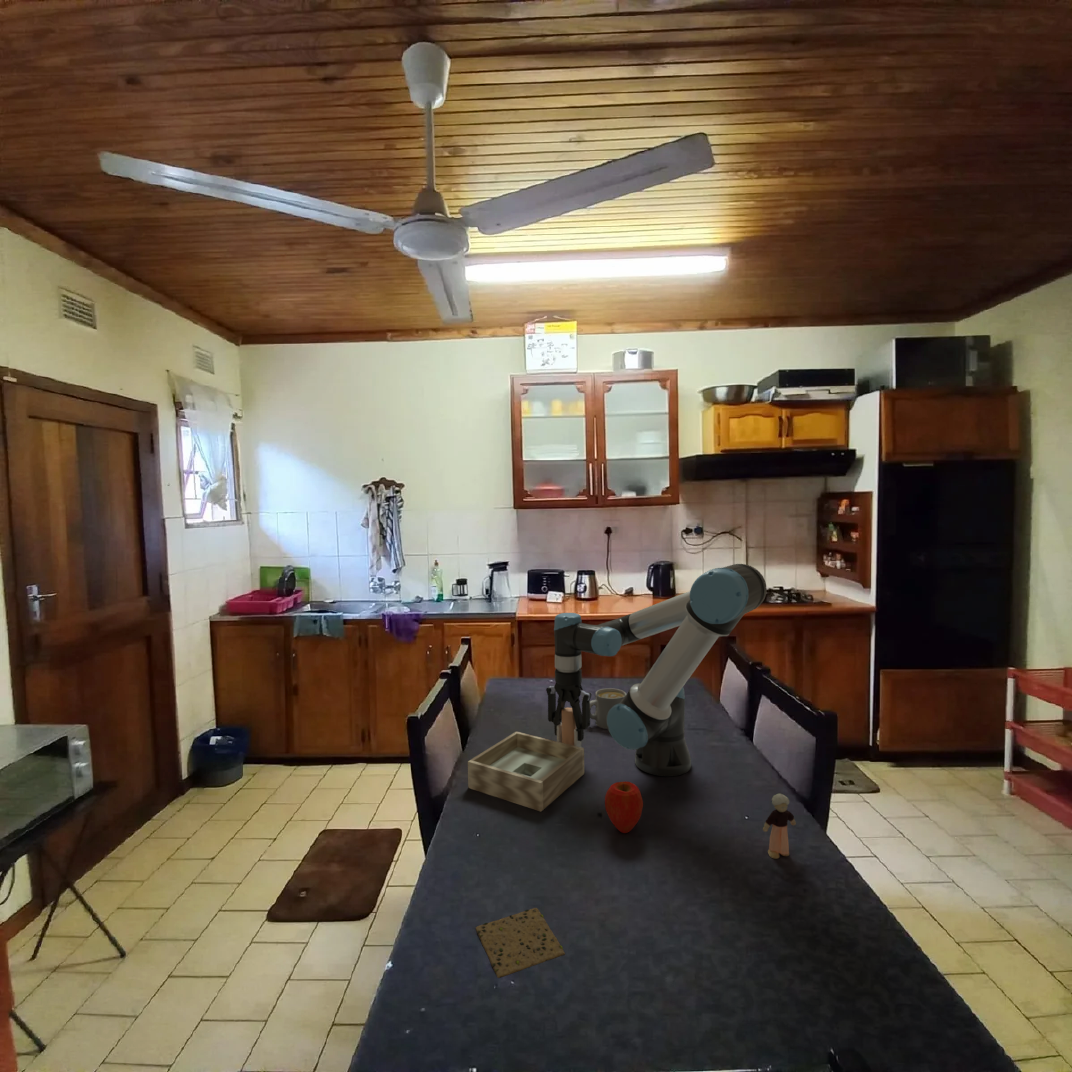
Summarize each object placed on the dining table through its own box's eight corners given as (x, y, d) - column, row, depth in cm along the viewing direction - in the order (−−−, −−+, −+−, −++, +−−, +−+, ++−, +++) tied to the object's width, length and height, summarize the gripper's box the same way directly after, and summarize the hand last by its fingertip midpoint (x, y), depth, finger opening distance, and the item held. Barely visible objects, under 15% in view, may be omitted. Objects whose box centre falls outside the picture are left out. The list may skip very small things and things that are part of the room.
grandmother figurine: (774, 863, 118) (775, 803, 117) (759, 853, 122) (760, 794, 121) (800, 852, 122) (801, 793, 121) (785, 843, 125) (786, 785, 124)
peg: (578, 757, 167) (578, 709, 166) (571, 762, 164) (571, 713, 163) (566, 753, 169) (566, 706, 168) (559, 759, 166) (559, 711, 165)
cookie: (497, 982, 91) (497, 976, 91) (474, 929, 102) (474, 924, 102) (566, 956, 96) (566, 951, 96) (537, 909, 107) (537, 904, 107)
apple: (620, 815, 137) (620, 770, 136) (651, 830, 131) (651, 783, 130) (597, 830, 131) (596, 783, 130) (628, 846, 125) (627, 797, 124)
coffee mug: (622, 716, 197) (622, 687, 196) (629, 728, 187) (629, 697, 186) (582, 718, 196) (582, 689, 195) (588, 730, 186) (587, 699, 185)
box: (584, 773, 157) (584, 748, 157) (541, 811, 139) (540, 783, 138) (516, 755, 169) (516, 731, 169) (468, 787, 151) (467, 761, 150)
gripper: (603, 669, 163) (603, 750, 165) (547, 660, 173) (548, 737, 174) (590, 677, 157) (591, 761, 159) (534, 667, 166) (535, 746, 168)
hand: (569, 748), depth 166 cm, fingers open, 5 cm apart
